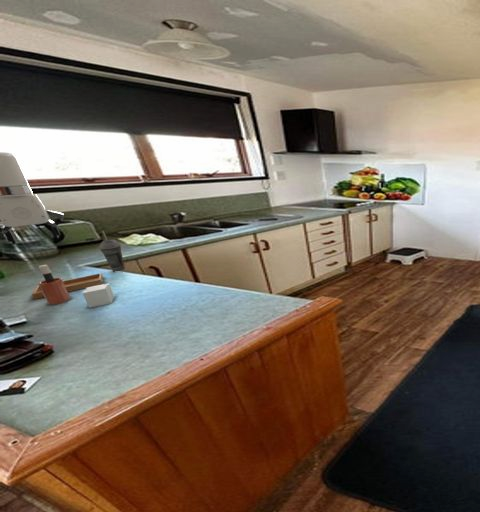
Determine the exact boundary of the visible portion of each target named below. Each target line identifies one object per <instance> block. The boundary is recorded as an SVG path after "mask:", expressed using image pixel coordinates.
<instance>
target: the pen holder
mask: <svg viewBox="0 0 480 512" xmlns="http://www.w3.org/2000/svg"><path fill="white" fill-rule="evenodd" d="M53 278H54V280H55V281H54V282H50V283H46V280H45V279H44V280H41V281H40V282H38V283H37V285H38V286H40V288H41V290H42V292H43V294H44V296H45V297H44V299H45V300H46V302H47V304H48V305H59V304H62V303H66V302H67V301H70V300H72V299H71V295H70V293H69V292H68V291H67V288H66V286H65V284H64V282H63V281H64V280H63V278H62V277H53Z"/></svg>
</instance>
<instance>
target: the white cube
mask: <svg viewBox="0 0 480 512" xmlns="http://www.w3.org/2000/svg"><path fill="white" fill-rule="evenodd" d="M82 295H83V297H84V300H85V302H86V304H87V306H88V308H89V309H90V308H94V307H100V306H103V305H108V304H112V303H113V301H114V299H115V295H114V292H113V289H112V288H111V284H110V282H108V283H103V284H101V285H96V286H92V287H87V288H84V290H83V292H82Z"/></svg>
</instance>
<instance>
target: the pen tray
mask: <svg viewBox="0 0 480 512" xmlns="http://www.w3.org/2000/svg"><path fill="white" fill-rule="evenodd" d="M102 273H103V272H100V273H96V274H91V275H90V274H89V275H85V276H81V277H77V278H76V277H75V278H71V279H65V280H63V282H64V284H65V286H66V288H67V291H68V293H69V292H75V291H78V290H82V289H86V288H87V287H92V286H97V285H102V284H104V275H103V274H102ZM31 296H32V298H33V300H37V299H42V298H45V296H44V294H43V292H42V290H41V288H40V286H39V285H37V286H36V287H35V288H34V290H33V292H32V293H31Z"/></svg>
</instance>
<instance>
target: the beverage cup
mask: <svg viewBox="0 0 480 512" xmlns="http://www.w3.org/2000/svg"><path fill="white" fill-rule="evenodd" d="M101 232H102V234H103V237H104V240H103V241H101V242H100V245H99V250H100V252H101V253H102V255H103V256H104V258H105V260H106V262H107V264H108V266H109V267H110V269H111V270H112V272H113V273H116V272H121V271H125V269H126V267H125V261H124V258H123V254H122V246H121V244H120V243H119V241H117V240H115V239H108V237H107V236H106V233H105V231H104V230H101Z"/></svg>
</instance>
